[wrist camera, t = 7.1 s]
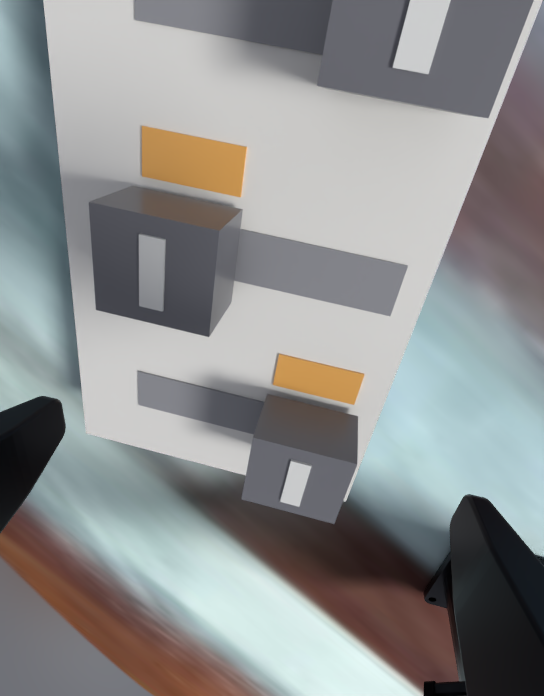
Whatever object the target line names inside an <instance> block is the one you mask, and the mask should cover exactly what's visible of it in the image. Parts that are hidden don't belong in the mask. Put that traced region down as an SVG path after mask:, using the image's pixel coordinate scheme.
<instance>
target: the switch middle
mask: <svg viewBox="0 0 544 696" xmlns="http://www.w3.org/2000/svg"><path fill="white" fill-rule="evenodd" d="M242 212H243V209H239V208H235V207H230V206H225V205H221V204H216V203H211V202H207V201H202V200H197V199H193V198H188V197H184V196H179V195H174V194H170V193H165V192H160V191H156V190H151V189H146V188H142V187H137V186H130V187H127V188H125V189H122V190H119V191H117V192H114V193H111V194H108V195H106V196H103V197H100V198H98V199H95V200H92V201H90V202H89V216H90V231H91V245H92V260H93V275H94V290H95V305H96V310H98V311H102V312H106V313H110V314H115V315H119V316H123V317H127V318H131V319H135V320H140V321H144V322H148V323H152V324H156V325H160V326H165V327H169V328H173V329H177V330H181V331H185V332H190V333H194V334H198V335H202V336H206V337H209V336H210V335H211V333H212V332H213V330H214V329H215V327H216V326H217V324H218V323H219V321H220V320H221V318H222V316H223V315H224V313H225V312H226V310H227V309H228V307H229V306H230V304H231V302H232V294H233V286H234V277H235V269H236V261H237V253H238V245H239V237H240V229H241V221H242Z"/></svg>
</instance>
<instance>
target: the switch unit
mask: <svg viewBox="0 0 544 696" xmlns="http://www.w3.org/2000/svg"><path fill="white" fill-rule="evenodd" d="M542 1H543V0H534V1H533V4H532V6H531V9H530V11H529V14H528V17H527V19H526V22H525V24H524V27H523V30H522V32H521V35H520V37H519V40H518V43H517V45H516V48H515V50H514V53H513V56H512V58H511V61H510V64H509V66H508V69H507V71H506V74H505V77H504V79H503V82H502V84H501V87H500V90H499V92H498V95H497V97H496V100H495V103H494V105H493V108H492V110H491V113H490V116H489V118H482V117H475V116H468V115H462V114H456V113H451V112H446V111H441V110H435V109H430V108H425V107H420V106H415V105H409V104H404V103H399V102H394V101H388V100H383V99H378V98H373V97H367V96H362V95H357V94H352V93H347V92H341V91H336V90H331V89H326V88H323V87H319V86H317V82H318V77H319V71H320V66H321V61H322V55H323V50H324V45H325V39H326V34H327V28H328V23H329V18H330V12H331V7H332V2H333V0H43V2H44V12H45V22H46V33H47V43H48V53H49V63H50V73H51V83H52V93H53V104H54V114H55V124H56V134H57V144H58V154H59V165H60V175H61V185H62V195H63V205H64V215H65V225H66V236H67V246H68V256H69V266H70V276H71V286H72V296H73V307H74V317H75V327H76V337H77V347H78V357H79V367H80V378H81V388H82V398H83V408H84V418H85V428H86V434H90V435H94V436H98V437H101V438H105V439H109V440H113V441H117V442H120V443H124V444H128V445H132V446H136V447H139V448H143V449H147V450H151V451H155V452H158V453H162V454H166V455H170V456H174V457H177V458H181V459H185V460H189V461H193V462H196V463H200V464H204V465H208V466H212V467H215V468H219V469H223V470H227V471H231V472H234V473H238V474H242V475H246V472H247V466H248V461H249V456H250V450H251V445H252V440H253V436H254V433H255V430H256V427H257V424H258V420H259V417H260V414H261V411H262V408H263V405H264V402H265V399H266V396H267V394H270V395H275V396H279V397H283V398H287V399H291V400H295V401H299V402H303V403H307V404H311V405H315V406H319V407H323V408H327V409H331V410H335V411H339V412H343V413H347V414H351V415H355V416H358V457H357V467H356V469H355V472H354V474H353V477H352V480H351V482H350V485H349V487H348V490H347V492H346V495H345V498H344V500H343V501H345V502H346V500H347V498H348V495H349V492H350V490H351V487H352V485H353V482H354V480H355V477H356V475H357V472H358V470H359V467H360V464H361V462H362V459H363V457H364V454H365V452H366V449H367V447H368V444H369V441H370V439H371V436H372V434H373V431H374V429H375V426H376V424H377V421H378V419H379V416H380V413H381V411H382V408H383V406H384V403H385V401H386V398H387V396H388V393H389V391H390V388H391V385H392V383H393V380H394V378H395V375H396V373H397V370H398V368H399V365H400V363H401V360H402V357H403V355H404V352H405V350H406V347H407V345H408V342H409V340H410V337H411V334H412V332H413V329H414V327H415V324H416V322H417V319H418V317H419V314H420V312H421V309H422V306H423V304H424V301H425V299H426V296H427V294H428V291H429V289H430V286H431V284H432V281H433V278H434V276H435V273H436V271H437V268H438V266H439V263H440V261H441V258H442V256H443V253H444V250H445V248H446V245H447V243H448V240H449V238H450V235H451V233H452V230H453V227H454V225H455V222H456V220H457V217H458V215H459V212H460V210H461V207H462V205H463V202H464V199H465V197H466V194H467V192H468V189H469V187H470V184H471V182H472V179H473V177H474V174H475V171H476V169H477V166H478V164H479V161H480V159H481V156H482V154H483V151H484V149H485V146H486V143H487V141H488V138H489V136H490V133H491V131H492V128H493V126H494V123H495V120H496V118H497V115H498V113H499V110H500V108H501V105H502V103H503V100H504V98H505V95H506V92H507V90H508V87H509V85H510V82H511V80H512V77H513V75H514V72H515V70H516V67H517V64H518V62H519V59H520V57H521V54H522V52H523V49H524V47H525V44H526V41H527V39H528V36H529V34H530V31H531V29H532V26H533V24H534V21H535V19H536V16H537V13H538V11H539V8H540V6H541V3H542ZM130 186H137V187H142V188H146V189H151V190H156V191H160V192H165V193H170V194H174V195H179V196H184V197H188V198H193V199H197V200H202V201H207V202H211V203H216V204H221V205H225V206H230V207H235V208H239V209H243V212H242V221H241V229H240V237H239V245H238V253H237V261H236V269H235V277H234V286H233V294H232V302H231V304H230V306H229V307H228V309H227V310H226V312H225V313H224V315H223V316H222V318H221V320H220V321H219V323H218V324H217V326H216V327H215V329H214V330H213V332H212V333H211V335H210V336H209V337H206V336H202V335H198V334H194V333H190V332H185V331H181V330H177V329H173V328H169V327H165V326H160V325H156V324H152V323H148V322H144V321H140V320H135V319H131V318H127V317H123V316H119V315H115V314H110V313H106V312H102V311H98V310H96V305H95V290H94V275H93V260H92V245H91V231H90V216H89V202H90V201H92V200H95V199H98V198H100V197H103V196H106V195H108V194H111V193H114V192H117V191H119V190H122V189H125V188H127V187H130Z"/></svg>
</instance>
